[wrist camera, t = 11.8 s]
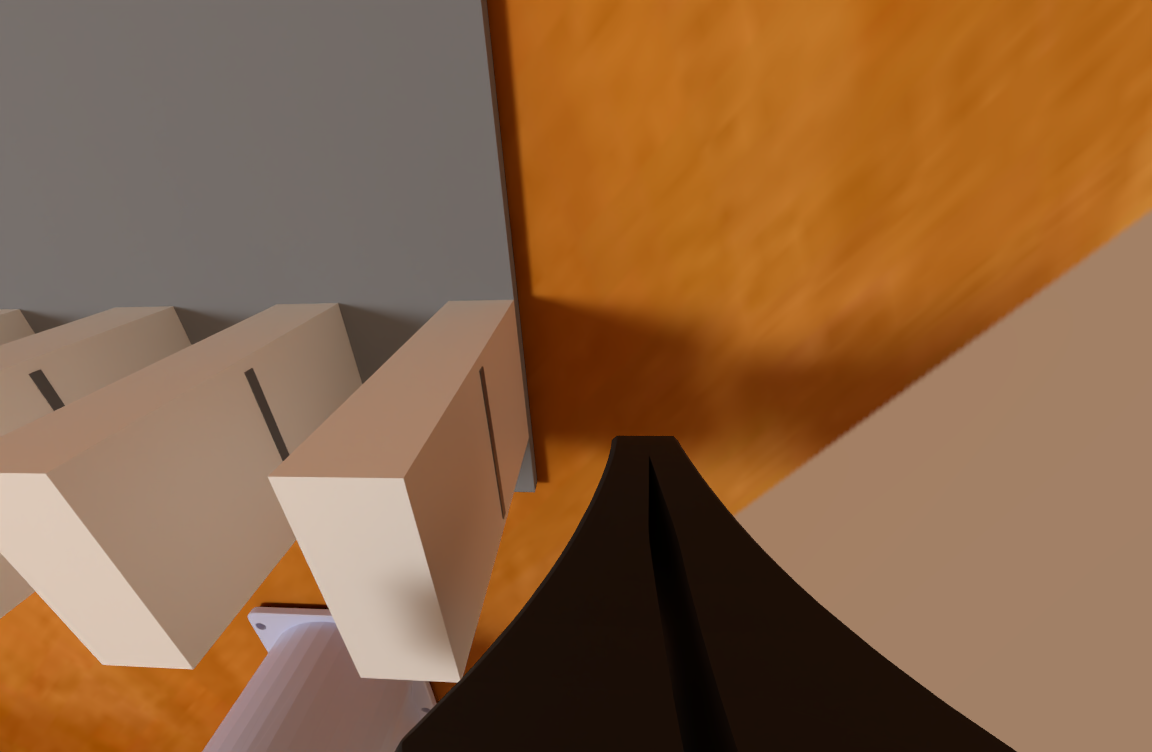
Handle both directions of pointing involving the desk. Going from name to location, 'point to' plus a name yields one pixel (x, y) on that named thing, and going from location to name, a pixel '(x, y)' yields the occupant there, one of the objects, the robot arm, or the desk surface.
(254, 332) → the domino
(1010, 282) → the desk surface
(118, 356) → the domino
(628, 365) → the desk surface
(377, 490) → the domino
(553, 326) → the desk surface
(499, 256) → the mat
